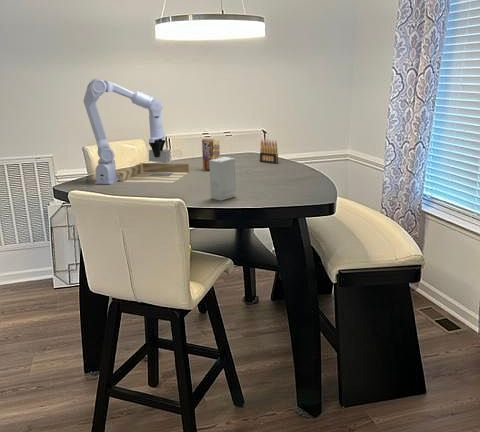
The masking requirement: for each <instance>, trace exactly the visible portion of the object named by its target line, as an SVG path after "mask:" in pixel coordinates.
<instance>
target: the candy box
mask: <svg viewBox="0 0 480 432" xmlns="http://www.w3.org/2000/svg"><path fill="white" fill-rule="evenodd" d="M201 143H202V144H201V145H202V146H201V147H202V148H201V150H202V169H203V170H202V171H203V172H209V173H210V167H209V160H213V159H218V158H221V157H220V155H221V153H220V152H221V149H220V139H217V138H216V139H215V138H202V139H201Z"/></svg>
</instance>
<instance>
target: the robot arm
mask: <svg viewBox="0 0 480 432" xmlns="http://www.w3.org/2000/svg"><path fill="white" fill-rule="evenodd" d="M105 93H114V94H118V95H120V96H123V97H126V98H128V99H130V101H131V103H132V104H135V105H136V106H138V107H141V108H143V109H146V110H148V114H149V115H148V121H149V122H148V123H149V134H150V135H149V138H148V145H149V146H150V148H151V150H153V154H154V157H160V150H164V146H165V143H166V139H165V138H167V137H166V135H165V134H164V128H163V127H164V125H163V123H164V122H163V115H162V114H163V112H162V110H163V108H164V105H163V104H162V101H161V100H160V99H158V98H157V99H156V98H154V96H153V95H148V94H146V93H144V91H142V90H136V91H132V90H129V89H127V88H125V87H123V86H121V85H119V84H117V83H115V82H111V81H108V80H103V79H101V78H93V79H91V81H90V82H89V83H88V84H87V86H86V89H85V93H84V98H83V100H82V101H83V104H84V107H85V110H86V113H87V117H88V119H89V123H90V126H91V130H92V133H93V135H94V138H95V142H96V145H97V146H96V147H97V156H98V158H99V159H98V160H97V166H96V167H95V170H94V171H95V172H94V173H95V179H96V181H95V182H94V184H95V185H112V184H115V183H116V182H119V181H120V178H118V177H117V171H116V170H117V169H116V167H117V166H116V160H115V159H114V158H115V152H114V150H113V149H112V148H111V146H110V143H109V141H108V139H107V136H106V131H105V129H104V126H103V122H102V119H101V116H100V112H99V110H98V107H97V104H96V103H97V101H98V100H99V99H100V97H101V96H102V95H103V94H105Z"/></svg>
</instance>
